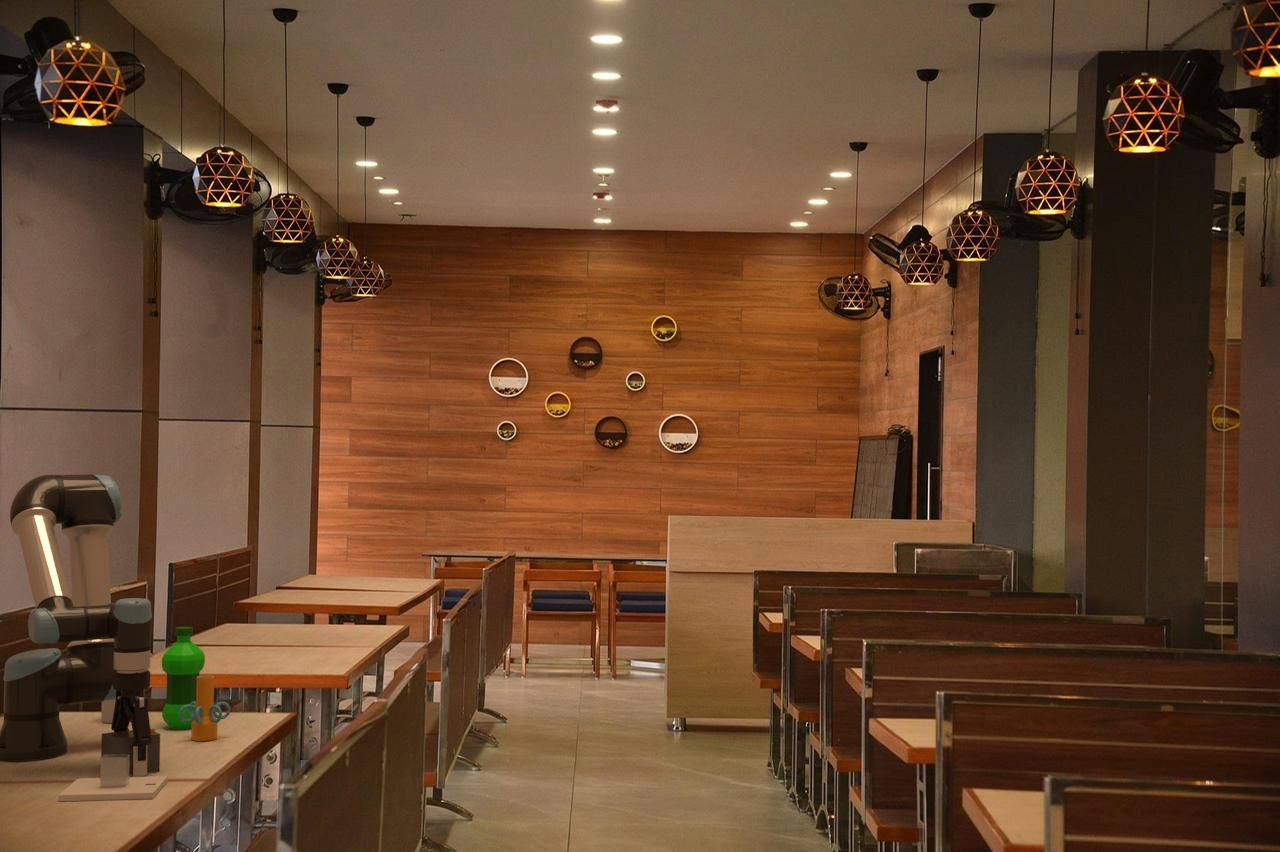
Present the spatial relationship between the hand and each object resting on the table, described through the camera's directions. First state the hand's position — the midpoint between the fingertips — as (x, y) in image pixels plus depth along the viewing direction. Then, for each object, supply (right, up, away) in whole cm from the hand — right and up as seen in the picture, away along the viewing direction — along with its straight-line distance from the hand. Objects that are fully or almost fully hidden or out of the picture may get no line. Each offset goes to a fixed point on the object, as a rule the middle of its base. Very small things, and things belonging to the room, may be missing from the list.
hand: (130, 770), depth 290 cm
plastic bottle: (-5, -1, +47) cm, 47 cm away
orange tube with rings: (+5, -1, +33) cm, 34 cm away
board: (+4, 0, -18) cm, 18 cm away
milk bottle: (-24, -2, +54) cm, 59 cm away
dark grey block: (0, 0, 0) cm, 0 cm away
